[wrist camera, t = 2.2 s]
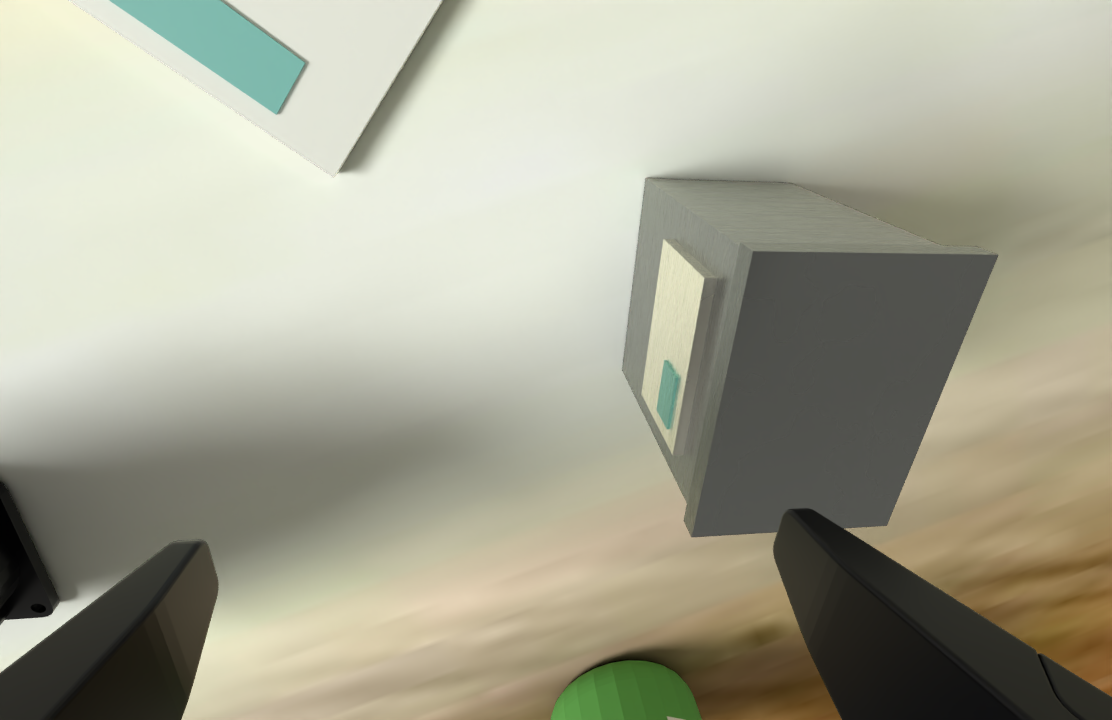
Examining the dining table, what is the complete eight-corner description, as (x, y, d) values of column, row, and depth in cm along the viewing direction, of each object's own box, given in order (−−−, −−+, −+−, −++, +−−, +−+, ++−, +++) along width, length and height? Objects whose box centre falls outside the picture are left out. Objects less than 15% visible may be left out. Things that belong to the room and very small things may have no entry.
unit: (751, 372, 23) (886, 525, 16) (611, 374, 22) (684, 537, 15) (798, 177, 20) (997, 254, 12) (634, 171, 19) (744, 250, 11)
